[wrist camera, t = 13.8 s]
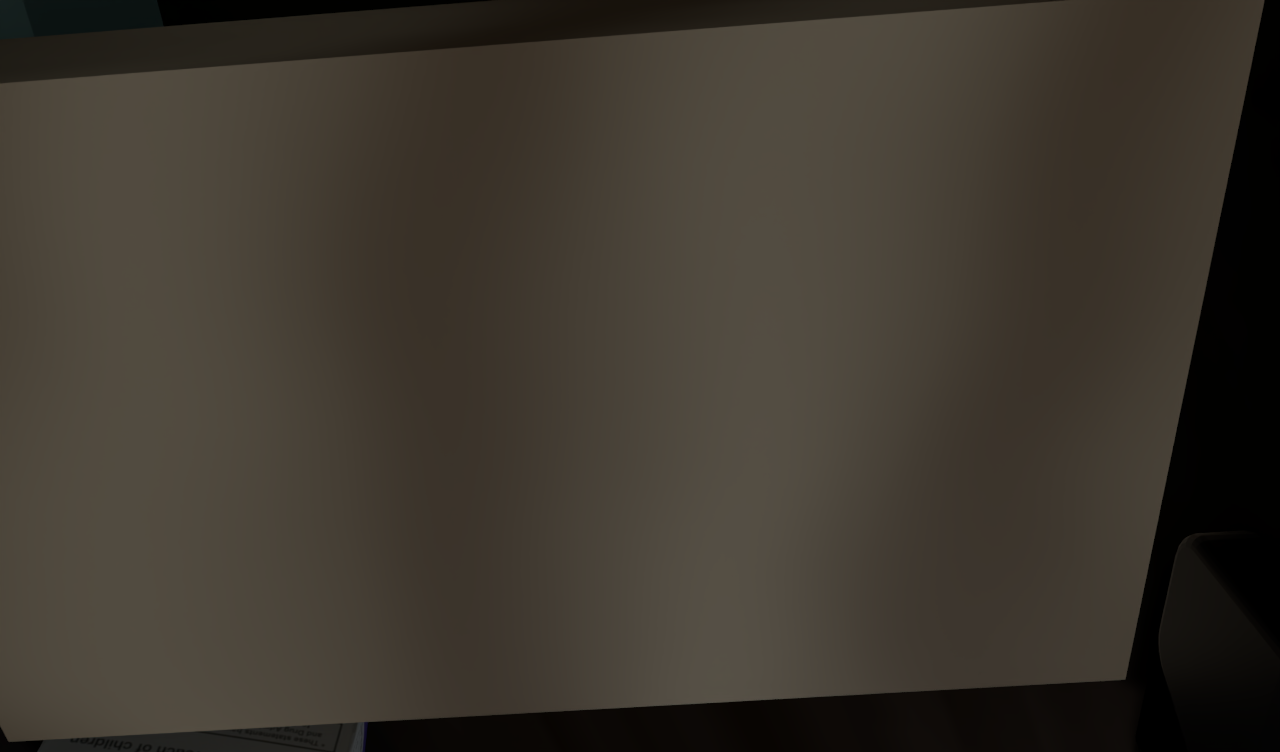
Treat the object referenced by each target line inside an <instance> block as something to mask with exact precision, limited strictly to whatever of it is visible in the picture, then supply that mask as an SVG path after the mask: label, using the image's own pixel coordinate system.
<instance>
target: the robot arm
mask: <svg viewBox="0 0 1280 752" xmlns="http://www.w3.org/2000/svg"><path fill="white" fill-rule="evenodd" d="M1136 742H1137V744H1138V746H1139V749H1140V751H1139V752H1280V545H1279V544H1277V543H1275V542H1274V541H1272V540H1271V539H1269V538H1267V537H1265V536H1263V535H1262V534H1260V533H1257V532H1254V531H1245V530H1242V531H1226V532H1209V533H1196V534H1192V535H1190V536H1188V537H1186V538H1185V539H1184V540H1183V541H1182V542H1181V544H1180V545H1179V547H1178V550H1177V553H1176V555H1175V560H1174V565H1173V569H1172V574H1171V578H1170V583H1169V587H1168V592H1167V597H1166V601H1165V606H1164V610H1163V615H1162V619H1161V624H1160V630H1159V651H1158V652H1157V654H1156V655H1155V656H1154V658H1153V659H1152V663H1151V668H1150V672H1149V677H1148V681H1147V686H1146V690H1145V695H1144V700H1143V704H1142V709H1141V713H1140V718H1139V722H1138V727H1137V731H1136Z"/></svg>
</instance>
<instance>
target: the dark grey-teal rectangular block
mask: <svg viewBox="0 0 1280 752" xmlns="http://www.w3.org/2000/svg"><path fill="white" fill-rule="evenodd" d="M152 27H164V25H163V21H162V18H161V14H160V10H159V6H158V2H157V0H0V40H1V39H14V38H26V37H39V36H51V35H64V34H76V33H89V32H102V31H114V30H127V29H139V28H152Z"/></svg>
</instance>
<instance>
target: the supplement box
mask: <svg viewBox="0 0 1280 752" xmlns="http://www.w3.org/2000/svg"><path fill="white" fill-rule="evenodd" d="M367 726H368V722H356V723H338V724H320V725H302V726H285V727H267V728H249V729H231V730H213V731H195V732H177V733H159V734H141V735H123V736H105V737H87V738H69V739H52V740H43V742H42V744H41V746H40V748H39V750H38V751H37V752H365V745H366V735H367Z"/></svg>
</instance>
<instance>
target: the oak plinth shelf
mask: <svg viewBox="0 0 1280 752" xmlns="http://www.w3.org/2000/svg"><path fill="white" fill-rule="evenodd" d="M1263 5H1264V0H492V1H479V2H467V3H454V4H442V5H429V6H417V7H404V8H391V9H379V10H366V11H354V12H341V13H328V14H316V15H303V16H291V17H278V18H265V19H253V20H240V21H228V22H215V23H202V24H190V25H177V26H165V27H152V28H139V29H127V30H114V31H102V32H89V33H76V34H64V35H51V36H39V37H26V38H14V39H1V40H0V727H1V729H2V730H3V732H4V734H5V736H6V738H7V740H8V741H9V742H16V741H34V740H52V739H69V738H87V737H105V736H123V735H141V734H159V733H177V732H195V731H213V730H231V729H249V728H267V727H285V726H302V725H320V724H338V723H356V722H374V721H392V720H410V719H428V718H446V717H464V716H482V715H500V714H517V713H535V712H553V711H571V710H589V709H607V708H625V707H643V706H661V705H679V704H697V703H715V702H733V701H750V700H768V699H786V698H804V697H822V696H840V695H858V694H876V693H894V692H912V691H930V690H948V689H965V688H983V687H1001V686H1019V685H1037V684H1055V683H1073V682H1091V681H1109V680H1125V679H1126V674H1127V669H1128V664H1129V659H1130V654H1131V650H1132V645H1133V640H1134V635H1135V630H1136V625H1137V620H1138V615H1139V610H1140V606H1141V601H1142V596H1143V591H1144V586H1145V581H1146V576H1147V571H1148V566H1149V562H1150V557H1151V552H1152V547H1153V542H1154V537H1155V532H1156V527H1157V523H1158V518H1159V513H1160V508H1161V503H1162V498H1163V493H1164V488H1165V483H1166V479H1167V474H1168V469H1169V464H1170V459H1171V454H1172V449H1173V444H1174V440H1175V435H1176V430H1177V425H1178V420H1179V415H1180V410H1181V405H1182V400H1183V396H1184V391H1185V386H1186V381H1187V376H1188V371H1189V366H1190V361H1191V357H1192V352H1193V347H1194V342H1195V337H1196V332H1197V327H1198V322H1199V317H1200V313H1201V308H1202V303H1203V298H1204V293H1205V288H1206V283H1207V278H1208V274H1209V269H1210V264H1211V259H1212V254H1213V249H1214V244H1215V239H1216V234H1217V230H1218V225H1219V220H1220V215H1221V210H1222V205H1223V200H1224V195H1225V191H1226V186H1227V181H1228V176H1229V171H1230V166H1231V161H1232V156H1233V151H1234V147H1235V142H1236V137H1237V132H1238V127H1239V122H1240V117H1241V112H1242V108H1243V103H1244V98H1245V93H1246V88H1247V83H1248V78H1249V73H1250V68H1251V64H1252V59H1253V54H1254V49H1255V44H1256V39H1257V34H1258V29H1259V25H1260V20H1261V15H1262V10H1263Z"/></svg>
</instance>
